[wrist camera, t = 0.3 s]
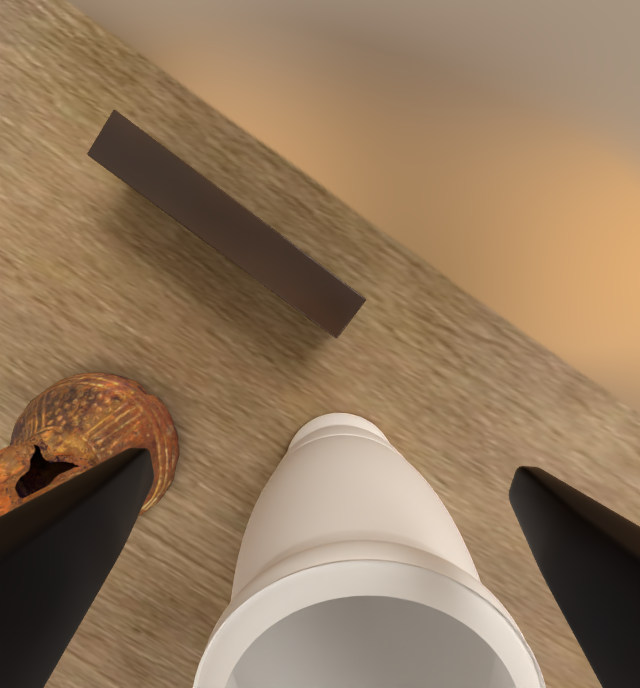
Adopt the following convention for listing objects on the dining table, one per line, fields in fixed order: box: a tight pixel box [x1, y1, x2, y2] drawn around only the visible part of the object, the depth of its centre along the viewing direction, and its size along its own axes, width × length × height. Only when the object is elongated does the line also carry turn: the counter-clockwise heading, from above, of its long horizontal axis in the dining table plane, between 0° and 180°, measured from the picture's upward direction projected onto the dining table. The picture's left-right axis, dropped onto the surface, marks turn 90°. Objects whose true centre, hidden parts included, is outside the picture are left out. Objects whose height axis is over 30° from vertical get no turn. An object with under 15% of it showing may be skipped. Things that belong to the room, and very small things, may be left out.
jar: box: [193, 413, 546, 688], centre depth 16 cm, size 11×10×15 cm
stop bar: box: [88, 110, 366, 338], centre depth 20 cm, size 3×18×4 cm, turn 54°
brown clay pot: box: [0, 373, 179, 516], centre depth 20 cm, size 12×12×7 cm
